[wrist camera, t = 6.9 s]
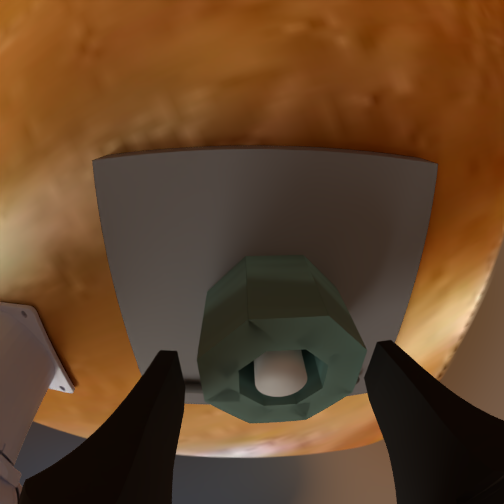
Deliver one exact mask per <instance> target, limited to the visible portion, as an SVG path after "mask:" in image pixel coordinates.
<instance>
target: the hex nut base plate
mask: <svg viewBox="0 0 504 504" xmlns="http://www.w3.org/2000/svg"><path fill="white" fill-rule="evenodd" d="M92 162H93V172H94V181H95V189H96V196H97V203H98V209H99V216H100V222H101V227H102V233H103V238H104V243H105V248H106V253H107V258H108V262H109V267H110V271H111V275H112V280H113V284H114V288H115V292H116V295H117V299H118V303H119V307H120V310H121V314H122V317H123V321H124V324H125V327H126V331H127V334H128V337H129V340H130V343H131V346H132V349H133V352H134V355H135V358H136V361H137V364H138V367H139V369H140V372H141V375H143V374H144V373H145V371H146V370H147V368H148V367H149V365H150V364H151V362H152V361H153V359H154V358H155V356H156V355H157V353H158V352H159V351H160V350H170V351H177V352H178V357H179V361H180V366H181V370H182V374H183V378H184V383H185V387H186V389H185V402H184V403H187V404H209V403H207V402H205V401H204V396H203V391H202V386H201V381H200V375H199V370H198V364H197V354H198V347H199V340H200V334H201V327H202V321H203V314H204V308H205V302H206V296H207V291H208V290H209V289H210V288H212V287H213V286H214V285H215V284H216V283H217V282H218V281H219V280H220V279H221V278H222V277H223V276H225V275H226V274H227V273H228V272H229V271H230V270H231V269H232V268H233V267H234V266H235V265H236V264H237V263H239V262H240V261H241V260H242V259H243V258H244V257H245V256H275V255H304V256H305V257H306V258H307V259H308V260H309V261H310V262H311V263H312V264H313V265H314V266H315V267H316V268H317V269H318V270H319V271H320V272H321V273H322V274H323V275H324V276H325V277H326V278H327V279H328V280H329V281H330V282H331V283H332V284H333V285H334V286H335V287H336V288H337V290H338V292H339V294H340V295H341V297H342V299H343V301H344V303H345V305H346V307H347V309H348V311H349V313H350V315H351V317H352V320H353V322H354V324H355V326H356V328H357V330H358V332H359V334H360V336H361V338H362V340H363V342H364V344H365V346H366V349H367V353H366V356H365V359H364V362H363V365H362V368H361V371H360V373H359V376H358V379H357V382H356V384H355V387H354V390H353V392H352V393H351V394H349V395H347V396H351V395H357V394H363V393H367V389H366V385H365V380H364V376H365V373H366V371H367V368H368V365H369V363H370V360H371V357H372V354H373V352H374V349H375V346H376V343H377V342H379V341H386V340H392V341H393V342H394V343H395V341H396V338H397V335H398V332H399V330H400V327H401V324H402V321H403V318H404V315H405V312H406V309H407V306H408V303H409V299H410V296H411V293H412V290H413V286H414V283H415V279H416V275H417V272H418V268H419V264H420V260H421V256H422V252H423V248H424V244H425V239H426V234H427V230H428V225H429V220H430V215H431V209H432V203H433V197H434V191H435V184H436V177H437V169H438V164H437V163H434V162H431V161H428V160H425V159H421V158H416V157H410V156H403V155H395V154H387V153H379V152H370V151H360V150H348V149H336V148H321V147H301V146H205V147H186V148H171V149H158V150H147V151H137V152H128V153H119V154H111V155H106V156H103V157H100V158H98V159H95V160H92ZM254 374H255V386H256V388H257V390H258V391H259V392H261V393H262V394H265V395H267V396H272V397H282V396H288V395H291V394H293V393H296V392H297V391H299V390H300V389H302V388H303V387H304V385H305V384H306V382H307V373H306V369H305V365H304V360H303V356H302V352H301V350H287V351H266V352H265V353H263V354H262V355H261V356H259V357H258V358H256V359H255V360H254Z"/></svg>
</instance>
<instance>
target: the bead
mask: <svg viewBox="0 0 504 504" xmlns="http://www.w3.org/2000/svg"><path fill="white" fill-rule="evenodd" d="M287 350H301V352H302V356H303V360H304V365H305V369H306V373H307V382H306V384H305V385H304V387H303V388H302V389H300V390H299V391H297V392H296V393H293V394H291V395H288V396H282V397H272V396H267V395H265V394H262V393H261V392H259V391H258V390H257V388H256V386H255V374H254V360H255V359H256V358H258V357H259V356H261V355H262V354H263V353H265V352H266V351H287ZM366 353H367V349H366V346H365V344H364V342H363V340H362V338H361V336H360V334H359V332H358V330H357V328H356V326H355V324H354V322H353V320H352V317H351V315H350V313H349V311H348V309H347V307H346V305H345V303H344V301H343V299H342V297H341V295H340V294H339V292H338V290H337V288H336V287H335V286H334V285H333V284H332V283H331V282H330V281H329V280H328V279H327V278H326V277H325V276H324V275H323V274H322V273H321V272H320V271H319V270H318V269H317V268H316V267H315V266H314V265H313V264H312V263H311V262H310V261H309V260H308V259H307V258H306V257H305V256H304V255H275V256H245V257H244V258H243V259H242V260H241V261H240V262H239V263H237V264H236V265H235V266H234V267H233V268H232V269H231V270H230V271H229V272H228V273H227V274H226V275H225V276H223V277H222V278H221V279H220V280H219V281H218V282H217V283H216V284H215V285H214V286H213V287H212V288H210V289H209V290H208V291H207V296H206V302H205V308H204V314H203V321H202V327H201V334H200V340H199V347H198V354H197V364H198V370H199V375H200V381H201V386H202V391H203V396H204V401H205V402H207V403H209V404H211V405H213V406H215V407H217V408H218V409H220V410H223V411H225V412H227V413H229V414H231V415H233V416H235V417H237V418H239V419H241V420H243V421H246V422H248V423H269V422H285V421H297V420H306V419H308V418H310V417H312V416H313V415H315V414H317V413H319V412H321V411H322V410H324V409H326V408H328V407H329V406H331V405H333V404H334V403H336V402H338V401H339V400H341V399H343V398H344V397H346V396H347V395H349V394H351V393H352V392H353V390H354V387H355V384H356V382H357V379H358V376H359V373H360V371H361V368H362V365H363V362H364V359H365V356H366Z"/></svg>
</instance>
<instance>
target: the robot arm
mask: <svg viewBox="0 0 504 504" xmlns="http://www.w3.org/2000/svg"><path fill="white" fill-rule="evenodd" d="M364 380H365V385H366V389H367V393H368V397H369V401H370V403H371V406H372V409H373V411H374V414H375V417H376V419H377V422H378V424H379V427H380V430H381V432H382V435H383V438H384V440H385V443H386V446H387V449H388V453H389V457H390V461H391V466H392V471H393V476H394V482H395V489H396V497H397V504H504V421H503V420H501V419H498V418H496V417H494V416H492V415H490V414H488V413H486V412H484V411H482V410H480V409H478V408H476V407H475V406H473V405H471V404H470V403H468V402H467V401H465V400H464V399H462V398H460V397H459V396H457V395H456V394H455V393H453V392H452V391H450V390H449V389H448V388H446V387H445V386H444V385H443V384H441V383H440V382H439V381H438V380H436V379H435V378H434V377H433V376H432V375H430V374H429V373H428V372H427V371H426V370H425V369H423V368H422V367H421V366H420V365H419V364H418V363H417V362H416V361H414V360H413V359H412V358H411V357H410V356H409V355H408V354H407V353H405V352H404V351H403V350H402V349H401V348H400V347H399V346H398V345H396V344H395V343H394V342H393V341H392V340H386V341H379V342H377V343H376V346H375V349H374V352H373V354H372V357H371V360H370V363H369V365H368V368H367V371H366V373H365V376H364ZM48 388H50V389H54V390H58V391H63V392H67V393H73V392H74V390H75V388H74V386H73V384H72V382H71V381H70V379H69V377H68V375H67V373H66V372H65V370H64V368H63V366H62V364H61V362H60V360H59V358H58V357H57V355H56V353H55V351H54V349H53V347H52V344H51V342H50V340H49V338H48V336H47V334H46V332H45V329H44V327H43V325H42V323H41V320H40V318H39V316H38V313H37V311H36V310H35V308H34V307H32V306H29V305H21V304H13V303H5V302H0V504H172V480H173V467H174V460H175V455H176V449H177V444H178V439H179V434H180V429H181V423H182V418H183V413H184V402H185V389H186V387H185V383H184V378H183V374H182V370H181V366H180V361H179V357H178V352H177V351H170V350H160V351H159V352H158V353H157V355H156V356H155V358H154V359H153V361H152V362H151V364H150V365H149V367H148V368H147V370H146V371H145V373H144V374H143V375H142V377H141V378H140V380H139V381H138V382H137V384H136V385H135V386H134V388H133V389H132V390H131V392H130V393H129V394H128V396H127V397H126V398H125V399H124V401H123V402H122V403H121V404H120V405H119V407H118V408H117V409H116V410H115V411H114V413H113V414H112V415H111V416H110V417H109V418H108V419H107V420H106V421H105V422H104V423H103V424H102V425H101V426H100V427H99V428H98V429H97V430H96V431H95V432H94V433H93V434H92V435H91V436H90V437H89V438H88V439H86V440H85V441H84V442H83V443H82V444H81V445H80V446H79V447H77V448H76V449H75V450H73V451H72V452H71V453H69V454H68V455H66V456H65V457H64V458H62V459H61V460H59V461H58V462H56V463H55V464H53V465H52V466H50V467H49V468H47V469H45V470H43V471H41V472H40V473H38V474H36V475H34V476H32V477H30V478H29V479H26V480H25V482H24V485H23V487H22V486H21V485H20V483H19V480H20V477H21V473H20V472H19V471H17V470H16V469H15V468H14V467H13V466H14V464H15V462H16V459H17V456H18V454H19V451H20V449H21V446H22V444H23V442H24V439H25V437H26V434H27V432H28V430H29V428H30V426H31V423H32V421H33V419H34V417H35V415H36V413H37V410H38V408H39V406H40V404H41V402H42V400H43V398H44V396H45V394H46V392H47V390H48Z"/></svg>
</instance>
